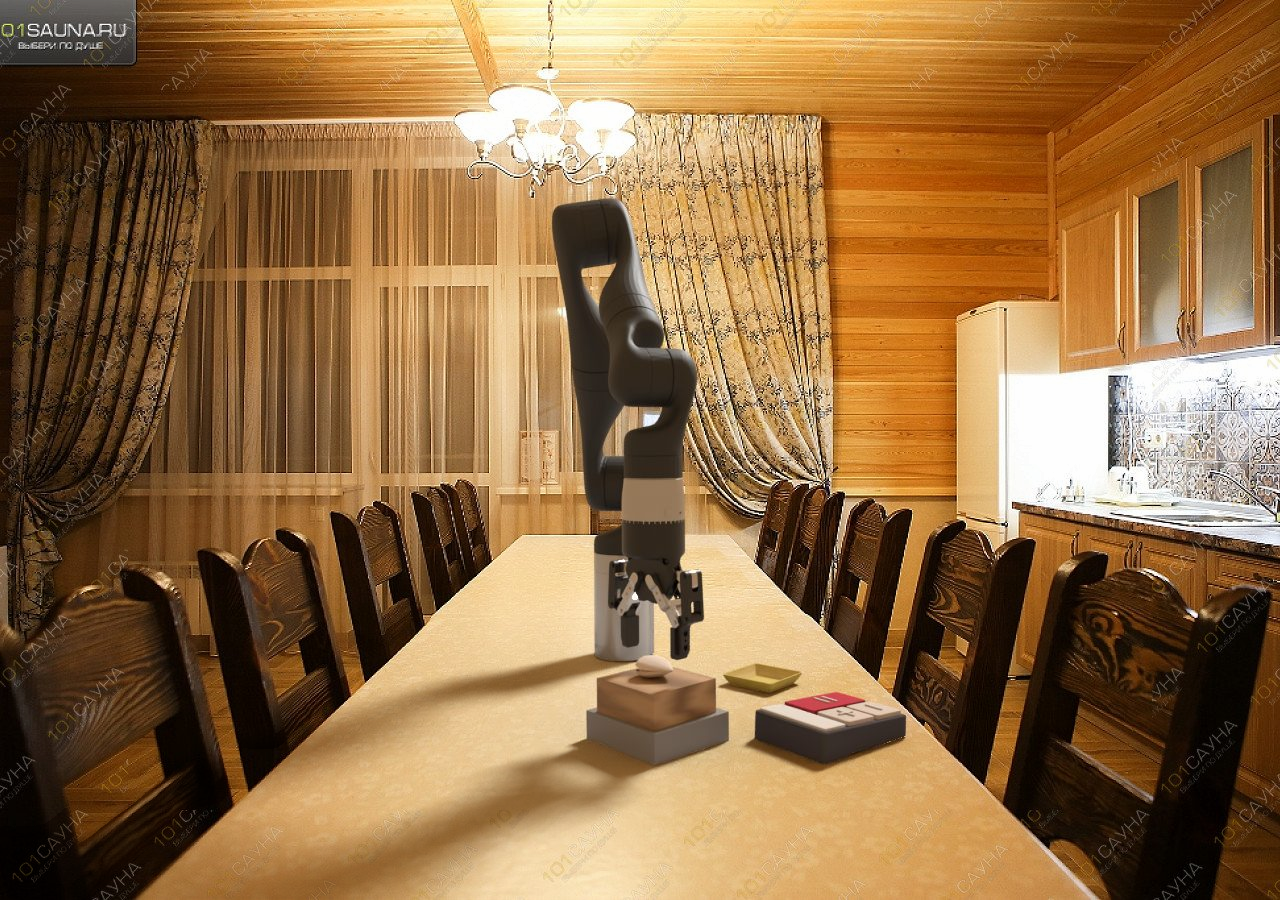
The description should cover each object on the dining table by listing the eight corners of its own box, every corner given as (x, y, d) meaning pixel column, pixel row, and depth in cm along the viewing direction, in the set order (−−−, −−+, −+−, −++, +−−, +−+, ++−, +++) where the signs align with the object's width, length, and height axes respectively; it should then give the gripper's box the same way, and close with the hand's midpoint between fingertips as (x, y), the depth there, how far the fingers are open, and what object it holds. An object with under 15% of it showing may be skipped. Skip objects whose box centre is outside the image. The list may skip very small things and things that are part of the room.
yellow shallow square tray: (721, 687, 126) (721, 673, 126) (755, 675, 133) (755, 662, 133) (770, 699, 120) (770, 684, 120) (803, 686, 127) (803, 671, 127)
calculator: (908, 708, 104) (825, 726, 95) (907, 744, 104) (824, 766, 94) (836, 688, 112) (753, 703, 103) (835, 721, 112) (752, 739, 103)
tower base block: (659, 721, 111) (659, 690, 111) (728, 745, 102) (728, 711, 102) (586, 743, 103) (586, 710, 103) (654, 771, 94) (654, 734, 94)
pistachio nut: (651, 670, 106) (651, 650, 106) (684, 677, 103) (683, 656, 103) (628, 678, 103) (628, 657, 103) (661, 685, 99) (661, 663, 99)
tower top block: (658, 694, 110) (657, 663, 110) (716, 712, 102) (715, 678, 102) (597, 711, 103) (596, 677, 103) (654, 731, 95) (653, 695, 95)
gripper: (719, 517, 100) (719, 658, 100) (637, 511, 110) (637, 637, 110) (672, 522, 95) (672, 669, 95) (591, 514, 105) (592, 647, 105)
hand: (654, 652), depth 103 cm, fingers open, 8 cm apart
